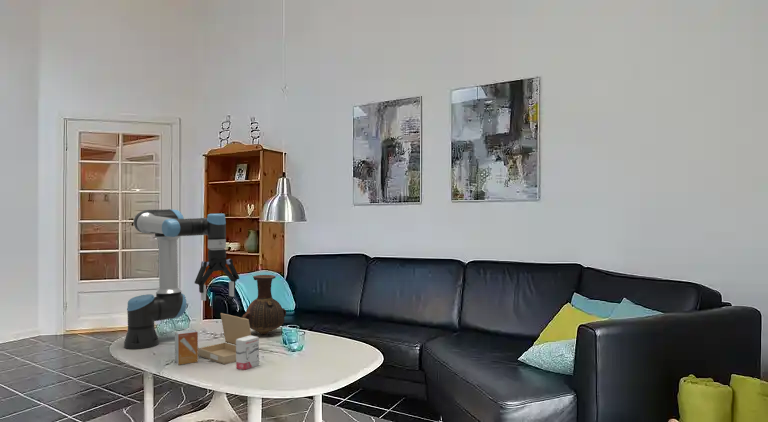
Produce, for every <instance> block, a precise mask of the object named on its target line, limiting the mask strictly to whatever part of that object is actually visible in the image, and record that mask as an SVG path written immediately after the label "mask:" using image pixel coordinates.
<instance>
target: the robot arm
mask: <svg viewBox="0 0 768 422" xmlns="http://www.w3.org/2000/svg"><path fill="white" fill-rule="evenodd" d="M226 221H227V220H226V214H225V213H209V214H207V217H200V218H198V217H197V218H185V217H184V216H183V214H182V212H181V211H180V210H178V209H172V208H171V209H170V208H169V209H145V210H142V211H140V212H139V213H137V214H136V215H135V216H134V219H133V226H134V228H135V229H136V230H137V231H138V232H139V233H142V234H147V235H148V234H151V235H152V234H153V235H154V237H155V239H157V240H158V275H159V276H158V277H159V278H158V279H159V280H158V281H159V282H158V283H159V285H158V286H159V288H158V290H157V291H156V292H155V294H156V295H153V294H140V295H138V296H137V295H136V296H134V297H132V298H130V299H128V300H127V308H126V311H127V313H126V314H127V332H126V335H125V339H124V341H123V347H124V348H125V349H129V350H141V349H148V348H152V347H155V346H158V344H159V343H160V342H159V336H158V334H157V331H156V327H155V322H157V321H164V320H173V319H176V318H180V317H182V316H183V315H184V313H185V311H186V309H187V299H186V296H185V294H184V293H182V290H181V289H180V288H179V279H178V277H179V276H178V275H179V274H178V273H179V272H178V271H179V270H178V265H179V264H178V239H179V238H180V237H191V236H193V237H194V236H207V249H208V250H207V259H208V261H201V262H200V269H198V273H197V275H196V278H195V279H194V284H196V285H198V292H199V294H200V300H201V301H203V302H205V301H207V290H206V289H207V286H206V282H207V281H208V279H209V278H210V277H211V275H212V274H213V272H218V271H222V272H223V273H224V274H225V275H226V276H227V278H228V280H229V281H228V296H229V297H233V298H234V297H235V289H236V282H237V281H238V280H240V276H239V274H238V272H237V269H236V268H235V265H234V262H233V259H232V258H228V259H227V249H226V247H227V231H226V230H227V225H226V224H227V222H226ZM226 265H227V266H226ZM207 267H208V268H207ZM229 270H230V271H229Z"/></svg>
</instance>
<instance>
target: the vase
mask: <svg viewBox="0 0 768 422" xmlns="http://www.w3.org/2000/svg"><path fill="white" fill-rule="evenodd" d="M252 277H253V280H254V281H256V285H257V297H256V298H255V299H253V300H252V301H251V302H250V304H249V305H248V306H247V308H246V310H245V313H244V314H243V315H242V316H241V318H245V319H249V324H250V330H253V331H255V332H257V333H258V334H260V335H267V334H268V333H271V332H272V331H275V330H277V329H279V328H280V327H281V326H282V325H284V323H285V317H286V316H287V311H286V309H285V308H284V307H282V305H281V304H280V302H279V301H278V300H277V299H274V298H273V295H272V283H273V280H274V279H276V277H277V276H276V275H274V274H256V275H253V276H252Z"/></svg>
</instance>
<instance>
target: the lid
mask: <svg viewBox="0 0 768 422" xmlns="http://www.w3.org/2000/svg"><path fill="white" fill-rule="evenodd" d="M220 319H221V323H222V329H223V335H224V343H228V344H231V345H235V346H236V340H237V339H239V338H242V337H246V336H252V331H251V330H252V329H251V328H250V324H249V319H245V318H242V316H241V317H240V316H237V315H231V314H227V313H223V312H220Z"/></svg>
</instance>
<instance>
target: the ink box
mask: <svg viewBox="0 0 768 422" xmlns="http://www.w3.org/2000/svg"><path fill="white" fill-rule="evenodd" d="M259 341H260V338H259V336H255V335H251V336H246V337H242V338H239V339H237V340H236V345H235V346H236V364H235V365H236V366H235V368H236V369H238V370H243V371H246V370H248V369H250V368H251V369H252V368H254V367H257V366H259V365H260V349H259V348H260V345H259V344H260V342H259Z"/></svg>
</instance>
